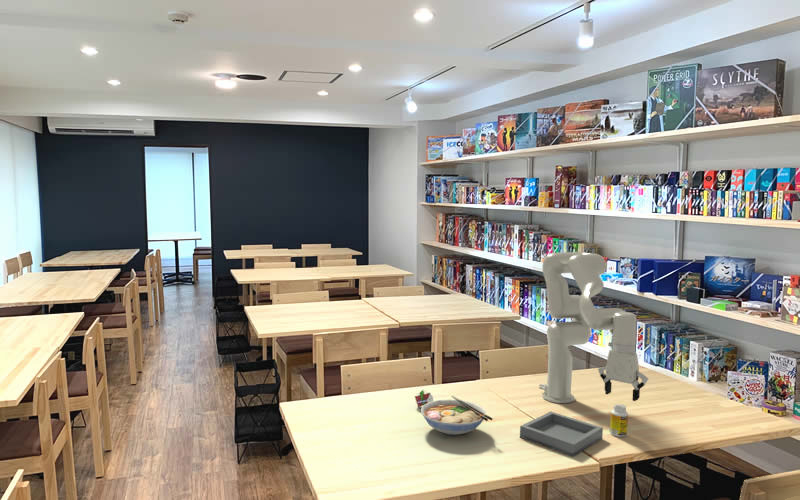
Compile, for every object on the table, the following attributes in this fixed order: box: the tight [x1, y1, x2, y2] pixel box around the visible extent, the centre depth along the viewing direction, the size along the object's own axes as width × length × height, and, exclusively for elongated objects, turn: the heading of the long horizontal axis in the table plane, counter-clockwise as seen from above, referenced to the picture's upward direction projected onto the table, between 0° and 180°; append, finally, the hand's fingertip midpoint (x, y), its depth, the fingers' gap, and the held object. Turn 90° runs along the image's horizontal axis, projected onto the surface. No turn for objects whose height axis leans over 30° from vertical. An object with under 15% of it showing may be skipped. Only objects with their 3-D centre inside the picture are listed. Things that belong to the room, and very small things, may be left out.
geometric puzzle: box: [414, 389, 434, 408], centre depth 225 cm, size 7×7×8 cm
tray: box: [519, 411, 604, 457], centre depth 199 cm, size 20×20×4 cm
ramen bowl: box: [420, 395, 493, 436], centre depth 203 cm, size 25×23×8 cm
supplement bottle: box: [609, 403, 629, 438], centre depth 203 cm, size 6×6×10 cm
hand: (621, 396), depth 202 cm, fingers open, 9 cm apart
